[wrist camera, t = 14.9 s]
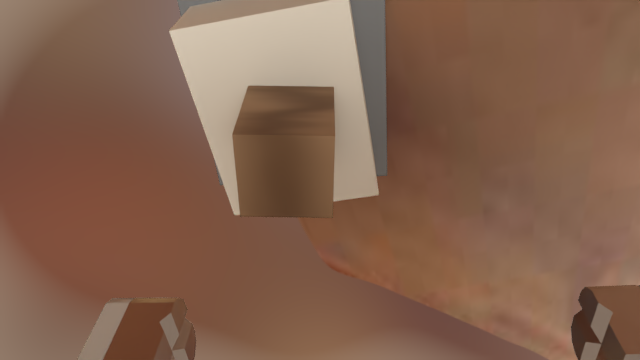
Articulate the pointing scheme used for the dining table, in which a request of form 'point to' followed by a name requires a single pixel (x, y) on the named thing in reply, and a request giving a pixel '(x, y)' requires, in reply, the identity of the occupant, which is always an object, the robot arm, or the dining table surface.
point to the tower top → (277, 75)
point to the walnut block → (285, 152)
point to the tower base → (372, 60)
